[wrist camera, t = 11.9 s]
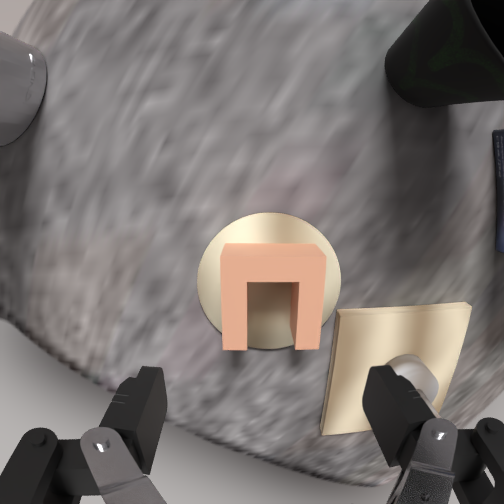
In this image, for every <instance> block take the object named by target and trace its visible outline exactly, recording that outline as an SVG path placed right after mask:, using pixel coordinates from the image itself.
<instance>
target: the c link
mask: <svg viewBox="0 0 504 504" xmlns="http://www.w3.org/2000/svg"><path fill="white" fill-rule="evenodd" d="M326 259H327V256H326V255H325V254H324V253H323V252H322V251H321V250H320V248H319V247H318V246H317V245H316V244H294V243H225V245H224V247H223V250H222V253H221V255H220V277H221V311H222V339H223V350H247V337H248V282H292V288H291V309H290V329H291V333H292V338H293V342H294V346H295V350H306V349H319V343H320V333H321V323H322V312H323V300H324V288H325V274H326Z"/></svg>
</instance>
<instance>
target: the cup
mask: <svg viewBox="0 0 504 504" xmlns="http://www.w3.org/2000/svg"><path fill="white" fill-rule="evenodd" d="M385 69H386V74H387V77H388V79H389V82H390V83H391V85H392V87H393V88H394V90H395V91H396V92H397V93H398V94H399V95H400V96H401V97H402V98H403V99H404V100H406V101H407V102H409V103H411V104H413V105H415V106H419V107H436V106H444V105H452V104H462V103H472V102H484V101H498V100H504V0H429V2H428V3H427V4H426V5H425V6H424V8H423V9H422V10H421V11H420V12H419V14H418V15H417V16H416V17H415V18H414V20H413V21H412V22H411V23H410V24H409V26H408V27H407V28H406V29H405V30H404V32H403V33H402V34H401V35H400V37H399V38H398V39H397V40H396V41H395V43H394V44H393V45H392V46H391V48H390V49H389V50H388V52H387V54H386V57H385Z"/></svg>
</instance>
